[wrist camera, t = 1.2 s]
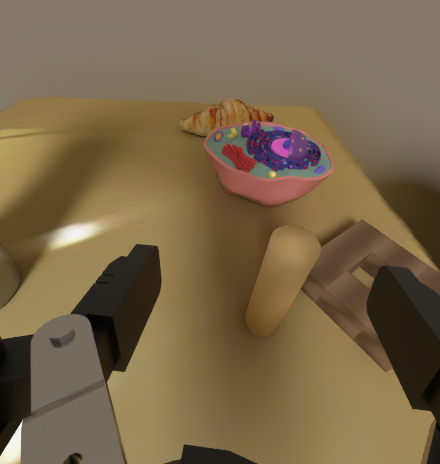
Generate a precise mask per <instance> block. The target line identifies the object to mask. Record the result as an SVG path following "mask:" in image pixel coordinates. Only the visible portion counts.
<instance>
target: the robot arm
mask: <svg viewBox="0 0 440 464" xmlns="http://www.w3.org/2000/svg"><path fill="white" fill-rule="evenodd" d="M20 279H21V272H20V269H19V267H18V265H17V264H16V263H15V262H14V260H13V259H12V258H11V257H10V255H9V254H8V253H7V251H6V250H5V249H4V248H3V246H2V245H1V244H0V308H1V307H2V306H3V305H4V304H5V303H7V302H8V301H9V300H10V298H11V297H12V296H13V295H14V293H15V292H16V290H17V288H18V286H19V283H20ZM160 289H161V269H160V259H159V250H158V247H157V246H153V245H141V244H136V245H135V246H134V248H133V249H132V251H131V252H130V253H129V255H128V256H127V257H125V256H121V257H119V258H118V259H116V260H115V261H113V262H111V263H110V264H109V265H108V266H107V268H106V269H105V270H104V271H103V273H102V275H100V277H99V278H98V279H97V280H96V283H94V284H93V285H92V287H91V288H90V289H89V291H88V292H87V293H86V294H85V296H84V297H83V298H82V300H81V301H80V302H79V303H78V305H77V306H76V307H75V308H74V310H73V311H72V312H71V314H68V315H63V316H60V317H57V318H54V319H52V320H50V321H49V322H47V323H45V324H44V325H43V326H42V327H40V328H39V329H38V330H37V332H36V333H35V334H33V335H27V336H20V337H14V338H7V339H1V337H0V456H1V454H2V452H3V451H4V449H5V448H6V446H7V444H8V443H9V441H10V439H11V438H12V436H13V435H14V433H15V431H16V430H17V428H18V427H19V425H20V423H21V422H22V420H23V423H22V430H21V464H128V462H127V459H126V455H125V451H124V447H123V444H122V440H121V436H120V432H119V428H118V424H117V420H116V416H115V412H114V408H113V404H112V400H111V396H110V392H109V389H108V385H107V381H108V379H109V377H110V375H111V373H112V371H121V372H125V370H126V368H127V366H128V364H129V361H130V359H131V357H132V355H133V352H134V350H135V348H136V345H137V343H138V341H139V339H140V336H141V334H142V332H143V330H144V327H145V325H146V323H147V321H148V318H149V316H150V314H151V312H152V309H153V307H154V305H155V303H156V300H157V298H158V296H159V293H160ZM366 307H367V314H368V317H369V319H370V321H371V323H372V325H373V327H374V329H375V331H376V334H377V336H378V338H379V340H380V342H381V344H382V346H383V348H384V350H385V352H386V354H387V357H388V359H389V361H390V363H391V365H392V367H393V369H394V371H395V373H396V375H397V377H398V379H399V382H400V384H401V386H402V388H403V390H404V392H405V394H406V396H407V398H408V400H409V402H410V405H411V407H412V409H418V410H426V411H431V412H432V414H433V416H434V417H435V419H434V421H433V422H432V423H431V426H430V429H429V433H428V437H427V441H426V445H425V449H424V453H423V457H422V461H421V464H440V295H439V294H438V293H436V292H435V291H433V290H432V289H431V288H429V287H428V286H426V285H425V284H424V283H420V281H419V280H418V279H417V278H416V277H415V275H414V274H413V273H412V272H411V270H410V269H408V268H406V267H395V266H381V267H380V268H379V270H378V272H377V275H376V278H375V280H374V283H373V285H372V288H371V291H370V293H369V296H368V299H367V305H366ZM165 464H256V463H254V462H252V461H250V460H248V459H246V458H244V457H242V456H239V455H237V454H235V453H233V452H231V451H227V450H220V449H213V448H206V447H199V446H192V445H185V444H184V447H183V452H182V458H181V459H180V460H174V461H171V462H168V463H165Z"/></svg>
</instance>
